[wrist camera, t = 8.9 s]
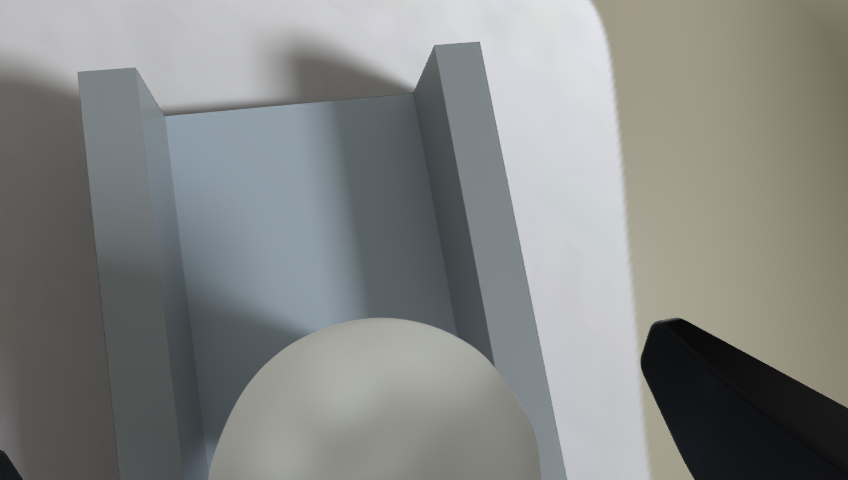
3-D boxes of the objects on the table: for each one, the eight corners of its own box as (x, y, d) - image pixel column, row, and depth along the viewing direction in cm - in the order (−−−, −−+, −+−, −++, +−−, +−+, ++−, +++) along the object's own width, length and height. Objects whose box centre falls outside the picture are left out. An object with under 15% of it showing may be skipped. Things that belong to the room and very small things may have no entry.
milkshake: (211, 508, 15) (58, 798, 5) (292, 306, 16) (284, 250, 7) (381, 562, 16) (514, 909, 6) (447, 363, 17) (645, 387, 7)
